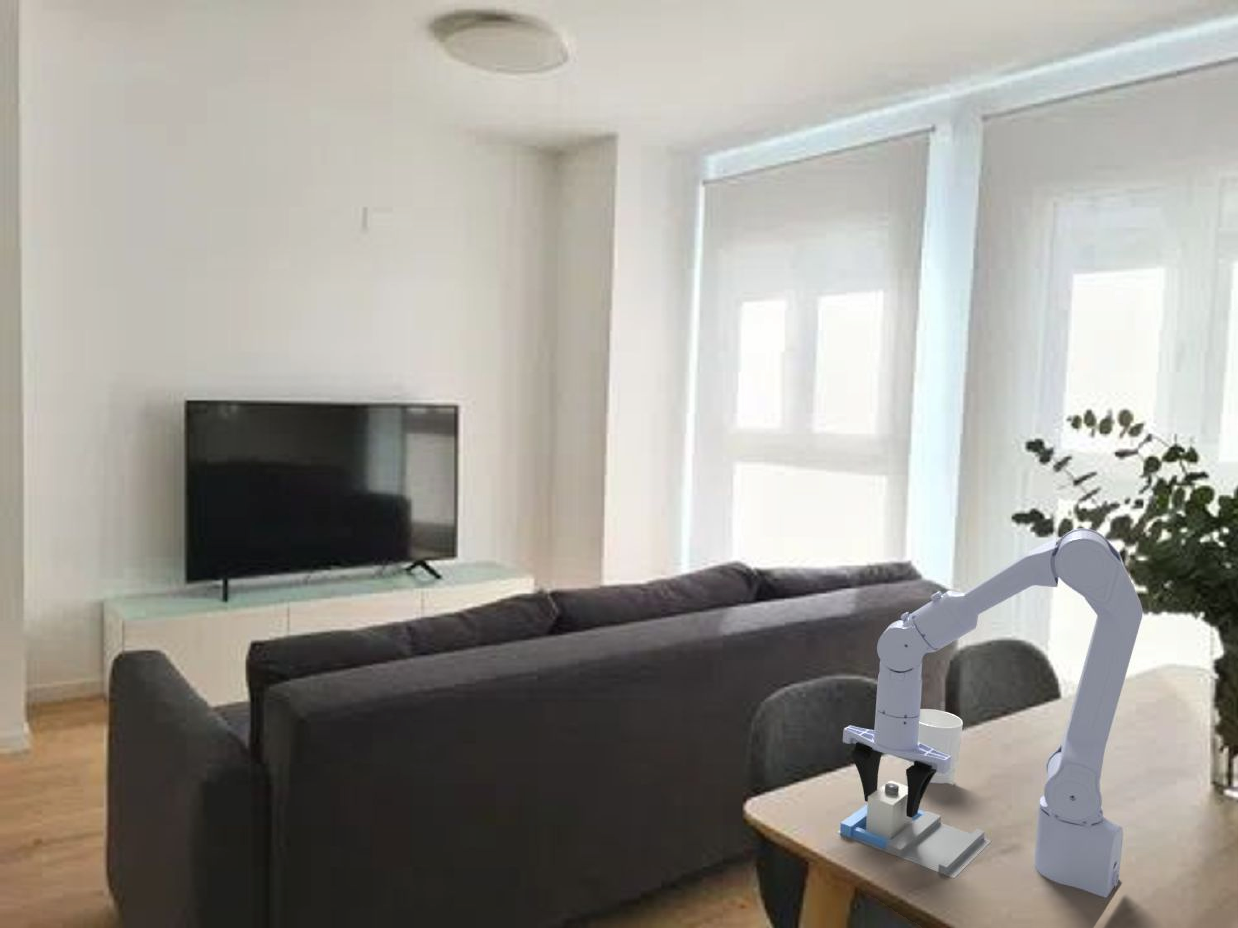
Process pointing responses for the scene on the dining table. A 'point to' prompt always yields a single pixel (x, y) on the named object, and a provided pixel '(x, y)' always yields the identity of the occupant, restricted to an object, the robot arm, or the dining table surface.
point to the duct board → (922, 841)
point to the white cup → (941, 738)
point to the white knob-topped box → (888, 810)
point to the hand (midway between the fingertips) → (890, 806)
